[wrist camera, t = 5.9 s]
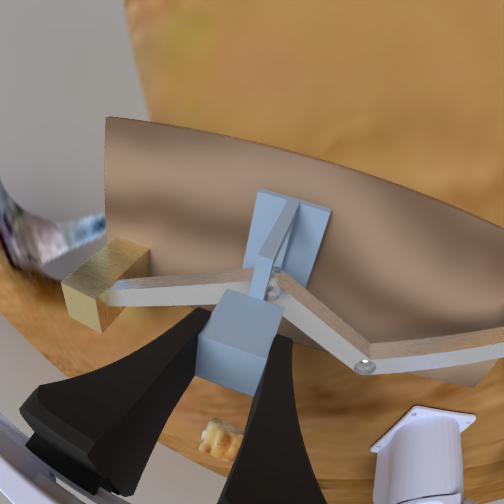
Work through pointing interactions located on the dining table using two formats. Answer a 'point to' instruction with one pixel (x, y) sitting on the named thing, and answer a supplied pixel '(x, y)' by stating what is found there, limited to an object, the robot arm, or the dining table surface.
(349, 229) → the tan flat sheet
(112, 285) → the jointed linkage mechanism
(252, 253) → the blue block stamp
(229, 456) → the pastry
